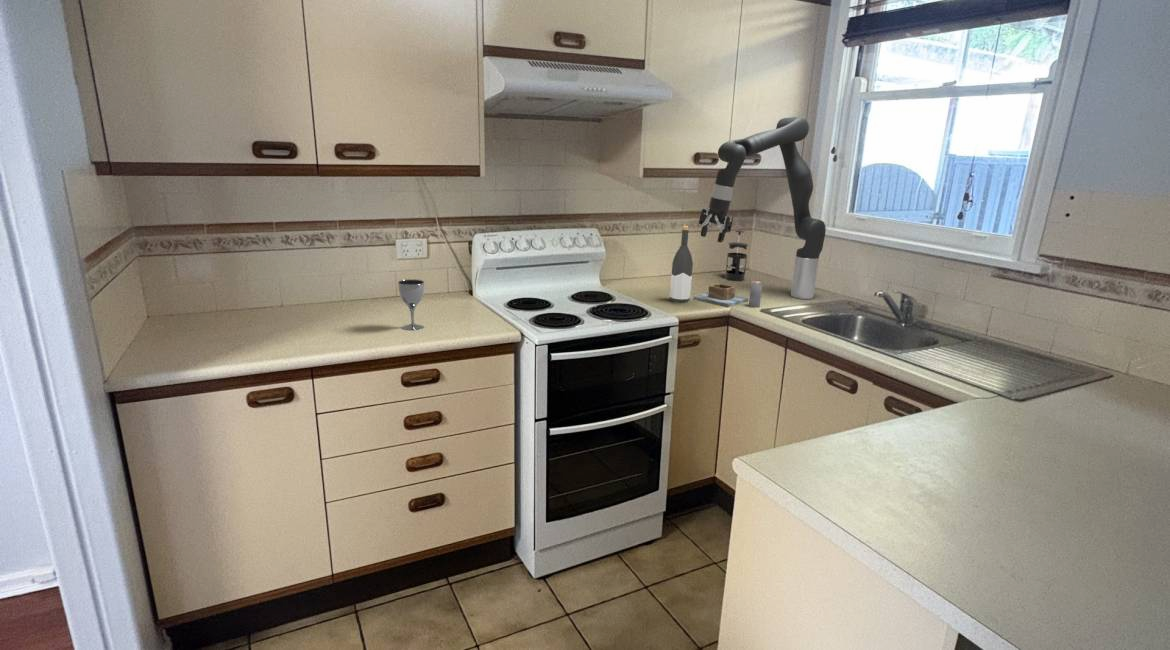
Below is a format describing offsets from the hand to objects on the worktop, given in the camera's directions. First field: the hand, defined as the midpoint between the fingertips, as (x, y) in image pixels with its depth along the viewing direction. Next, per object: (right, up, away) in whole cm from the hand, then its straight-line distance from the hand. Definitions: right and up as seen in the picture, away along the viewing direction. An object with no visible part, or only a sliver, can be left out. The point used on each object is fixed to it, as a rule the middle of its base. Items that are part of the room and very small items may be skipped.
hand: (711, 239), depth 243 cm
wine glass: (-105, -34, -39) cm, 117 cm away
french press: (+22, -11, +57) cm, 62 cm away
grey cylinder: (+18, -26, +7) cm, 32 cm away
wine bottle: (-11, -24, +10) cm, 28 cm away
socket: (+7, -23, +14) cm, 28 cm away
